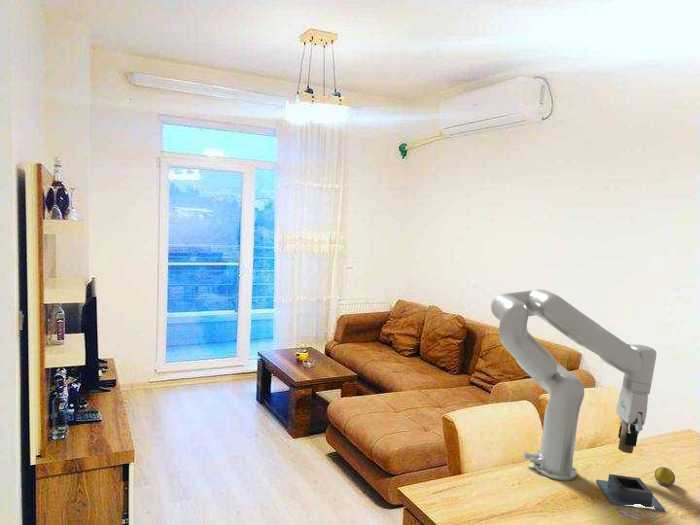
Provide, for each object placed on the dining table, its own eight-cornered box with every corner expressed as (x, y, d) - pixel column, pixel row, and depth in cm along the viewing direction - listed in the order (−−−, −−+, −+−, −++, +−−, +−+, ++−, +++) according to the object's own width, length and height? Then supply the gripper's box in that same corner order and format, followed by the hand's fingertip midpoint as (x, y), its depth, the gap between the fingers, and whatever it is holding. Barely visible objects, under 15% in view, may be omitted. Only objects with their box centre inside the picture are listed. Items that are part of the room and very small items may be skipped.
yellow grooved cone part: (678, 487, 155) (679, 474, 148) (660, 491, 156) (660, 479, 150) (669, 470, 159) (669, 457, 152) (651, 474, 160) (651, 461, 153)
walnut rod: (621, 452, 156) (626, 421, 155) (616, 446, 160) (621, 416, 159) (634, 454, 156) (640, 423, 155) (629, 448, 160) (634, 418, 159)
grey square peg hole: (611, 504, 141) (612, 491, 141) (595, 481, 153) (597, 469, 153) (664, 511, 140) (666, 498, 139) (644, 488, 151) (646, 476, 151)
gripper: (613, 375, 164) (604, 429, 166) (635, 392, 148) (625, 452, 150) (637, 378, 164) (628, 432, 165) (662, 396, 147) (651, 456, 149)
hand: (626, 441), depth 158 cm, fingers closed on walnut rod, 4 cm apart
